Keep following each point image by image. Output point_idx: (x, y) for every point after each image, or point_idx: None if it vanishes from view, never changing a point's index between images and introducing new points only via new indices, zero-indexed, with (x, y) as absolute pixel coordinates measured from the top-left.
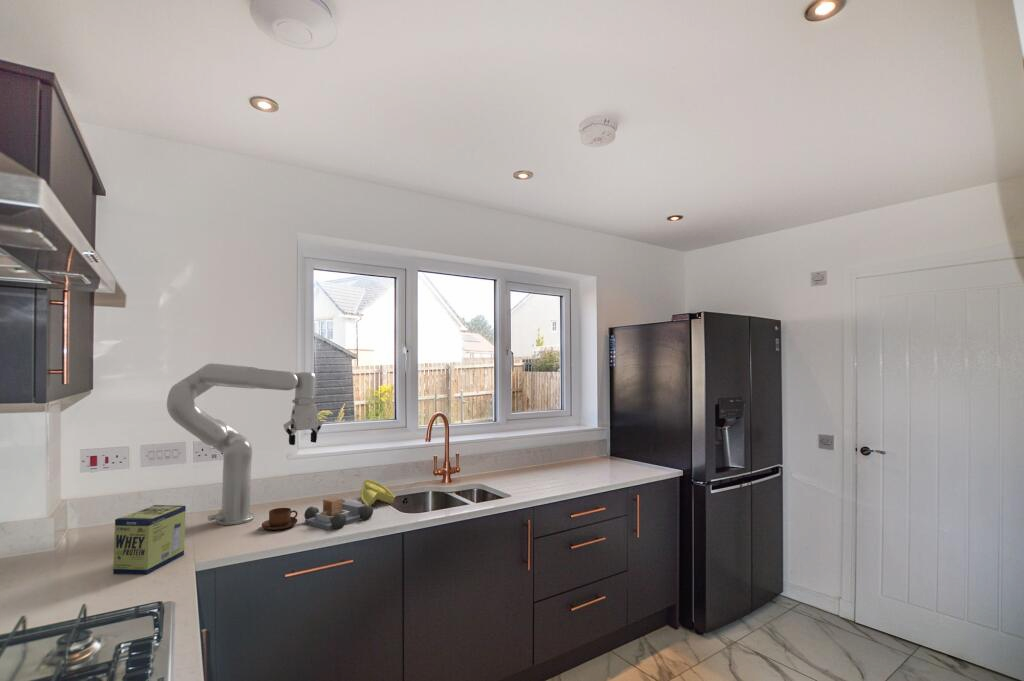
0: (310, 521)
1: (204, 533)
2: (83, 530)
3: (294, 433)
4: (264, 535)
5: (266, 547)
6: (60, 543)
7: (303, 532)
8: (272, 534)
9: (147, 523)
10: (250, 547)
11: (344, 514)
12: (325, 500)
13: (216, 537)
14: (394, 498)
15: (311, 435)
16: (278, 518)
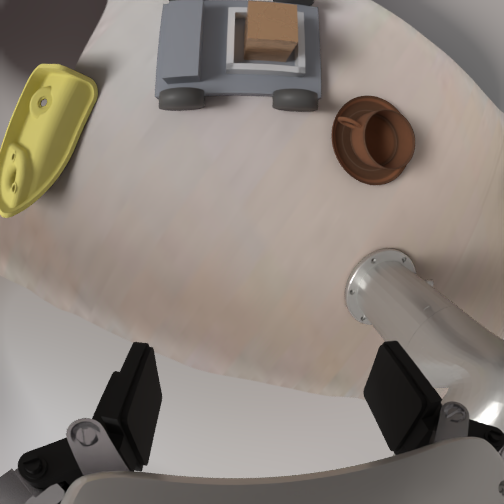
0: (320, 75)
1: (450, 250)
2: None
3: (441, 420)
4: (417, 121)
5: (442, 63)
6: None
7: (361, 52)
8: (406, 109)
9: None
10: (456, 92)
11: None
12: (297, 31)
13: (457, 205)
14: (37, 72)
15: (149, 437)
16: (399, 121)
